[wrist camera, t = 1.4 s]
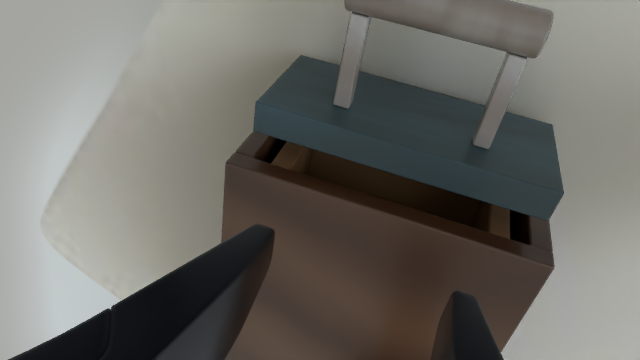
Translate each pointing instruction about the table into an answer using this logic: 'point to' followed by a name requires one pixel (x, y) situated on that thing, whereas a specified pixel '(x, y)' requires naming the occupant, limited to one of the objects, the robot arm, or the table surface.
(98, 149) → the table surface
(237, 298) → the robot arm
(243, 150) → the cabinet
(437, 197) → the drawer
